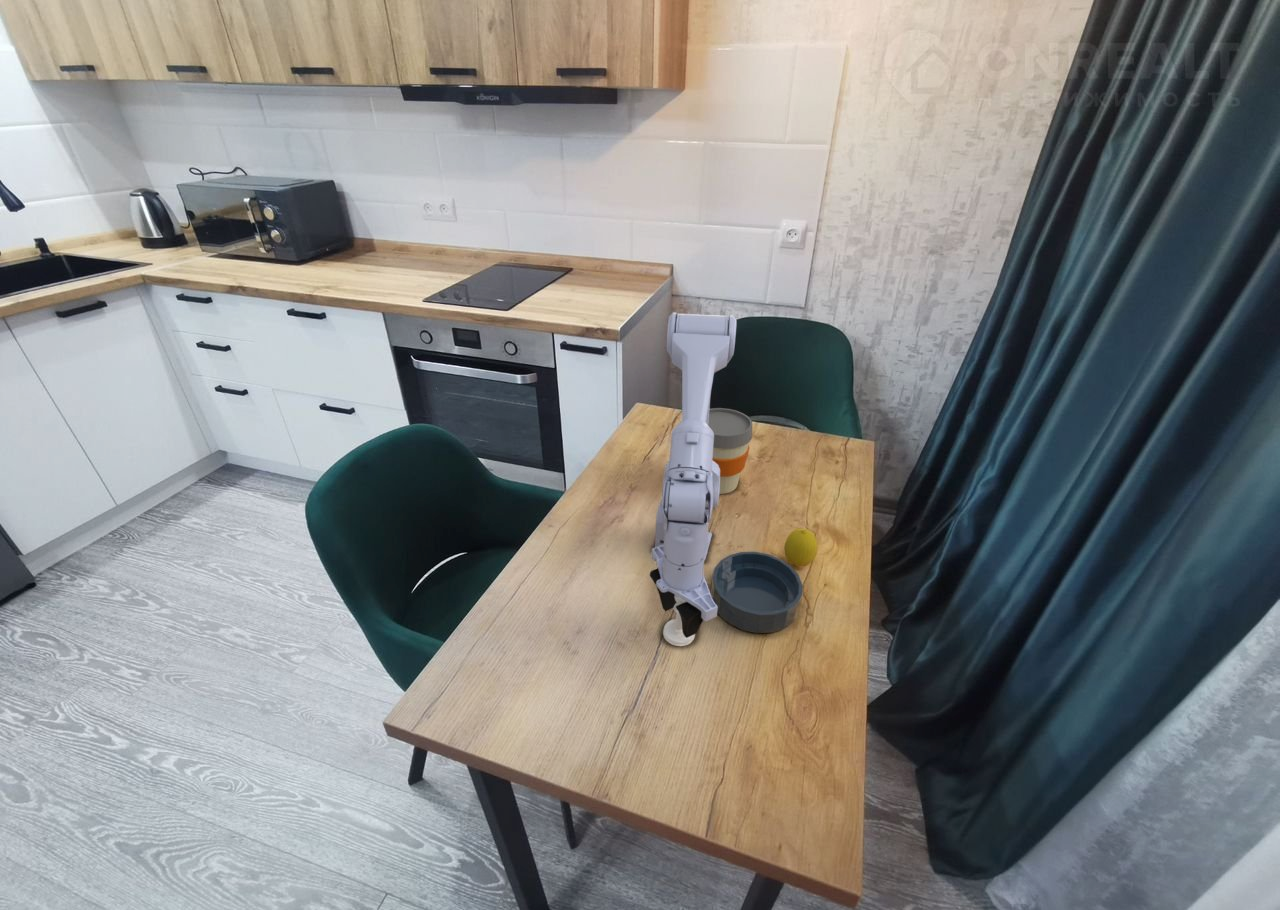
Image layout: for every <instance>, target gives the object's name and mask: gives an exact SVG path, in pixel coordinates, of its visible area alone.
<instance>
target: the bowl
mask: <svg viewBox="0 0 1280 910" xmlns="http://www.w3.org/2000/svg"><path fill="white" fill-rule="evenodd" d="M803 587H804V585H803V583H802V580H801V578H800V575H799V574H798V572H797V571H796V570H795V569H794V568H793V567H792V566H791V565H790V564H788V563H787V562H786V561H784V560H783V559H781V558H780V557H777V556H774V555H772V554H770V553H765V552H761V551H760V552H759V551H740V552H736V553H731V554H729V555H728V556H726V557H724V558H723V559H721V560H720V561H719V562H718V563H717V564H716V566H715V567H714V570H713V573H712V579H711V587H710V588H711V589H710V594H711V597H712V598H713V599H714V600H715V601H716V605H717V606H718V610H717V615H719V616H720V617H721V618H723V619H724V620H725V621H726V622H727V623H728V624H730V625H732V626H734V627H736V628H738V629H740V630H742V631H745V632H751V633H755V634H765V633H766V634H767V633H769V634H770V633H775V632H778V631H782V630H783V629H785V628H787V627H788V626H789V625H791V624H793V622H795V619H796V618H797V616H798V614H799V611H800V607H801V603H802V598H803Z"/></svg>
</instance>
